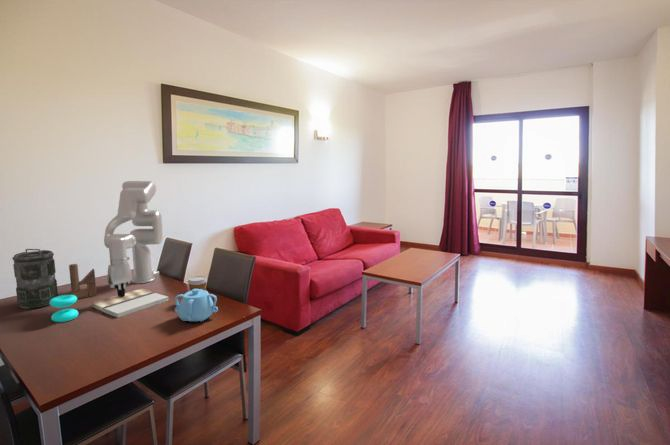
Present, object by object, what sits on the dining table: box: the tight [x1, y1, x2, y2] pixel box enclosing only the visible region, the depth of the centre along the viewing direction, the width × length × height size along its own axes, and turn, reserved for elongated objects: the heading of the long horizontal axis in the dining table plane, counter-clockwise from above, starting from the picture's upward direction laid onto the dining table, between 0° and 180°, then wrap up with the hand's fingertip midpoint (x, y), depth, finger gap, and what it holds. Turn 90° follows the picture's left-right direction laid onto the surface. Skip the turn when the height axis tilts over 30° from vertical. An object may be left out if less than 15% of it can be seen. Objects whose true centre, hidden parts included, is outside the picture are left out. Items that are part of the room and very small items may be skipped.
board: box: [103, 291, 170, 318], centre depth 184 cm, size 26×12×2 cm, turn 149°
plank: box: [91, 287, 153, 313], centre depth 189 cm, size 26×10×2 cm, turn 149°
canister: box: [11, 248, 59, 310], centre depth 183 cm, size 16×16×28 cm
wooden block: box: [68, 263, 97, 300], centre depth 194 cm, size 4×11×18 cm, turn 130°
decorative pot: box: [174, 289, 219, 323], centre depth 170 cm, size 16×16×14 cm
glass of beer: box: [187, 275, 208, 291], centre depth 191 cm, size 10×10×12 cm
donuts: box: [49, 294, 79, 323], centre depth 167 cm, size 10×10×10 cm
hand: (121, 295), depth 190 cm, fingers closed
